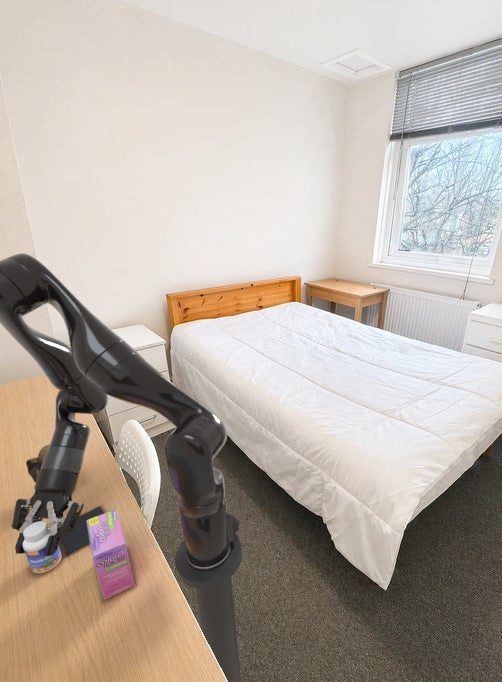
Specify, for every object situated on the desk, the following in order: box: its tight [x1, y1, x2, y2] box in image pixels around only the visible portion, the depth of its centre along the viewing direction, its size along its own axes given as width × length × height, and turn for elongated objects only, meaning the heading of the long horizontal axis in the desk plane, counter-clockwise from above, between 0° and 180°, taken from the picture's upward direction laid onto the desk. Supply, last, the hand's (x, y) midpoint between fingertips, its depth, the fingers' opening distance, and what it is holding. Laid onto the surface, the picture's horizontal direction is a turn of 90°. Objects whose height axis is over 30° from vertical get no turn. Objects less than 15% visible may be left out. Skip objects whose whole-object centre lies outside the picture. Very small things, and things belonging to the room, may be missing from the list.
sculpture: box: [25, 444, 50, 484], centre depth 91 cm, size 11×11×15 cm
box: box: [87, 509, 135, 601], centre depth 71 cm, size 10×6×12 cm, turn 34°
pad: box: [60, 506, 106, 556], centre depth 83 cm, size 10×10×1 cm
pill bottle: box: [23, 520, 62, 574], centre depth 73 cm, size 5×5×10 cm
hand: (34, 554), depth 72 cm, fingers closed on pill bottle, 5 cm apart
